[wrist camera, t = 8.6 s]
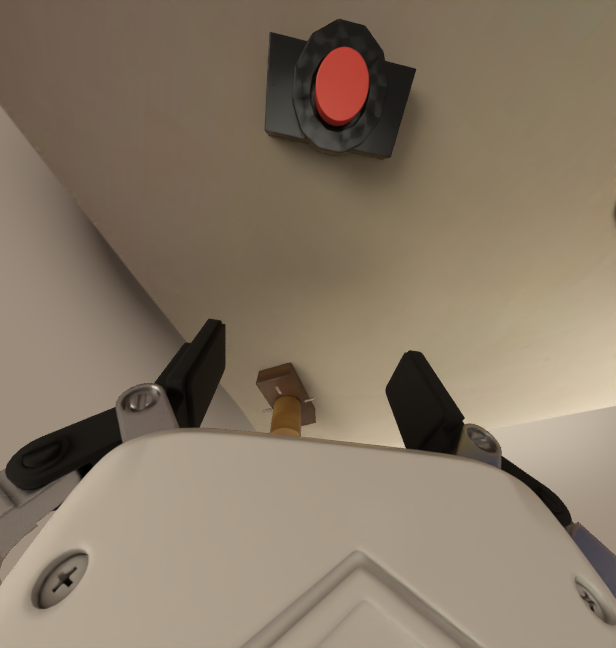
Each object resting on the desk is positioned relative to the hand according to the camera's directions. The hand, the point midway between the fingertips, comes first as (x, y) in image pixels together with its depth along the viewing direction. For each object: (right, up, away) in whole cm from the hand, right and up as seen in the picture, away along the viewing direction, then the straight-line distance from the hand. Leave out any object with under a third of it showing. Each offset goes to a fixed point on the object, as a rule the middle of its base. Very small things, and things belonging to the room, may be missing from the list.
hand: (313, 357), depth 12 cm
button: (+2, +17, +3) cm, 17 cm away
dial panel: (-3, -9, +24) cm, 26 cm away
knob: (-3, -10, +22) cm, 24 cm away
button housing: (+2, +19, +6) cm, 20 cm away
